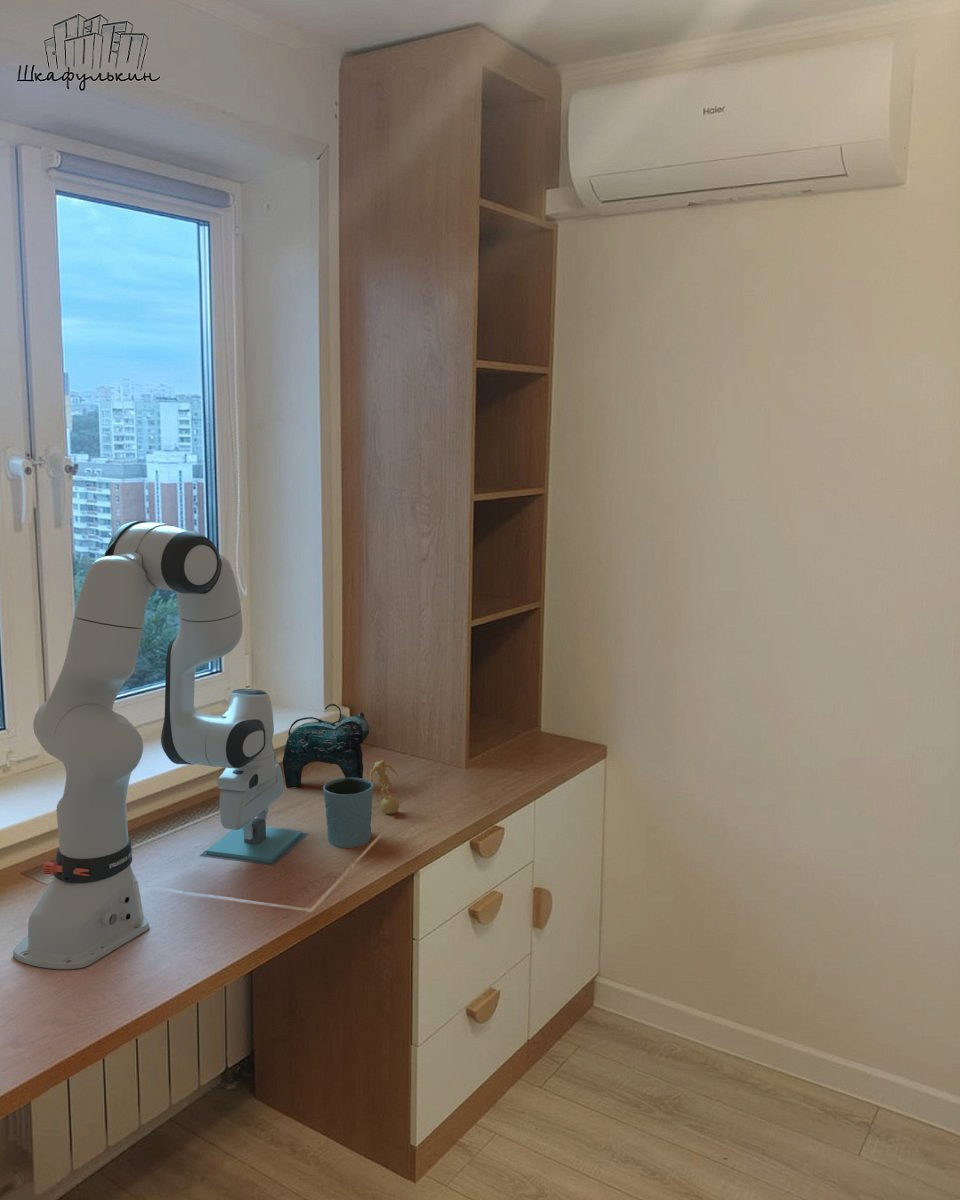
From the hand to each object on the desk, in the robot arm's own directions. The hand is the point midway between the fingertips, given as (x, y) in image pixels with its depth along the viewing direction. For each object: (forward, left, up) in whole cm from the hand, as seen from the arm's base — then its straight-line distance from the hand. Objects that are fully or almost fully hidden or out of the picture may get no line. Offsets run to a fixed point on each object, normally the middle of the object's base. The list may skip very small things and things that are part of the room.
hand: (255, 833), depth 215 cm
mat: (0, 0, -3) cm, 3 cm away
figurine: (+24, -19, -3) cm, 31 cm away
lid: (0, 0, -2) cm, 2 cm away
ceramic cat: (+35, 0, -3) cm, 35 cm away
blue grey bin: (+8, -17, -3) cm, 19 cm away
